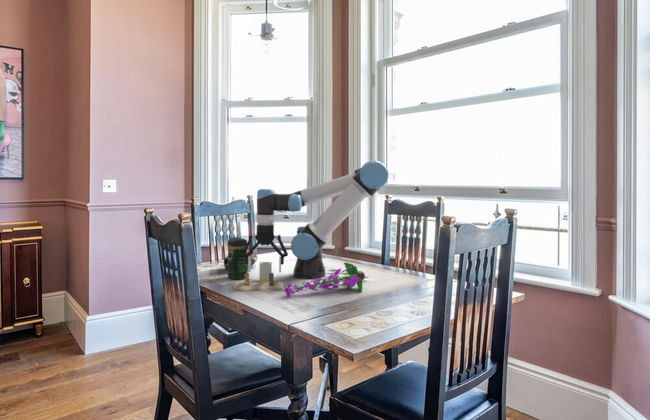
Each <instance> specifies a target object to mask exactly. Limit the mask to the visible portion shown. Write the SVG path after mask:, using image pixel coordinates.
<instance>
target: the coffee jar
mask: <svg viewBox="0 0 650 420" xmlns="http://www.w3.org/2000/svg"><path fill="white" fill-rule="evenodd" d="M247 243H248V240H247V239H246V238H242V237H237V236H236V237H230V238H228V240H227V256H228V269H227V277H228V278H229V279H232V280H245V273H249V272H248V269H247V264H246V257H245V256H242V255H241V254H242V252H243V250H244V248H245V246H246V245H247ZM246 254H247V251H246Z"/></svg>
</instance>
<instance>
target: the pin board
mask: <svg viewBox="0 0 650 420" xmlns="http://www.w3.org/2000/svg"><path fill="white" fill-rule="evenodd" d="M232 291H233V292H256V291H257V292H258V291H260V292H262V291H263V292H264V291H265V292H266V291H267V292H268V291H270V292H271V291H284V281H275V279H274V272H272V273H269V282H260V281H258V282H255V281H254V282H250V272H248V273H245V278H244V282H235V285H234V286H233V289H232Z"/></svg>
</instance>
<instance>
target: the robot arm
mask: <svg viewBox="0 0 650 420" xmlns="http://www.w3.org/2000/svg"><path fill="white" fill-rule="evenodd" d="M389 174H390V173H389V170H388V168H387V165H385V163H383V162H382V161H380V160H369V161H367V162H365V163H364V164H363V165H362V166H361V167H360V168H358V169H354V170H353V171H352V173H350V174H346V175H344V176H340V177H337V178H334V179H332V180H328V181H324V182H323V183H319V184H316V185H313V186H310V187H307V188H303V189H300V190H298V191H294V192H291V193H275V189H271V188H270V189H269V188H259V189H258V190H257V194H256V195H257V196H256V224H257V225H256V235H254V234H249V236H248V240H247V245H246V246H245V248H244V250H243V252H242V254H241V255H242V256H245V257H246V264H248V273H251V269H250V257H249V255H250V254H251V253H254V251H255V249H256V248H258V246H259V245H260V246H271V247H272V248H273V249H274V250H275V251H276V253H278V255H279V259H278V261H279V263H278V264H279V265H278V266H279V269H278V273H282V265H284V264H285V263H284V261H285V257H289V256H288V255H289V253H288V251H287V249H286V247H285V245H284V243H283V240H282V237H281V234H277V235H275V233H274V231H275V229H274V228H275V226H274V224H275V212H291V213H295V212H300V211H301V210H302V208H303V207H306V206H310V205H312V204H315V203H318V202H321V201H324V200H327V199H330V198H334V197H337V198H335V200H334V201H333V202H332V203H331V204H330V205H329V206H328V207H327V208H326V210H324V211H323V212H322V214H320V216H318V218H317V219H316V220H315V221H313V222H310V223H309V222H308V223H307V224H306V225H305V226H297V231H296V235H294V236H293V237H292V240H291V243H290V249H291V252H292V254H293V255H294V256H295V258H296V261H295V265H294V267H293V270H292V271H293V274H292V275H293V276H294V277H295V278H299V279H321V278H325V277H326V268H325V265H324V262H323V258H322V257H323V247H324V246H325V245H326V244H328V237H329V236H330V235H331V234H332V233H333V232H334V231H335V230H336V228H338V227H339V226H340V225H341V224H342V222H343V221H345V220H346V218H347V217H348V216H349V215H351V213H352V212H354V210H355V209H356V208H357V207H358V206H360V204H361V203H362V202H363V201H365V199H366V198H372V197H373V196H374V195H375V194H376V193H377V192H378V191H379V190H380V189H381V188H383V187H384V186H385V185H386V184H387V182H388V180H389ZM254 239H255V240H256V241H257V242H256V243H255V244H254V245H253V246H252V247H251V248H250V249H249V246H250V245H251V243H252V241H254ZM274 240H276V241H278V243H279V246H280V248H281V249H279V247H278V246H277V245H276V244H275V242H274ZM248 249H249V250H248ZM247 250H248V251H249V252H248V253H247V254H246V251H247ZM281 250H282V251H281Z"/></svg>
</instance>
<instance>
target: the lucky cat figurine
mask: <svg viewBox="0 0 650 420" xmlns="http://www.w3.org/2000/svg"><path fill="white" fill-rule="evenodd" d="M249 251H250V250H248V249H247V253H248V252H249ZM249 257H250V270H251V269H252V268H253V265H255V263H256V262H257V260H258V259H259V258H258V255H255V254H254V252H252V253H251V254H250V255H249ZM223 265H224V268H225V269H226V270H228V255H227V256H225V258H224V261H223ZM247 269H248V264H247Z"/></svg>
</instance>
